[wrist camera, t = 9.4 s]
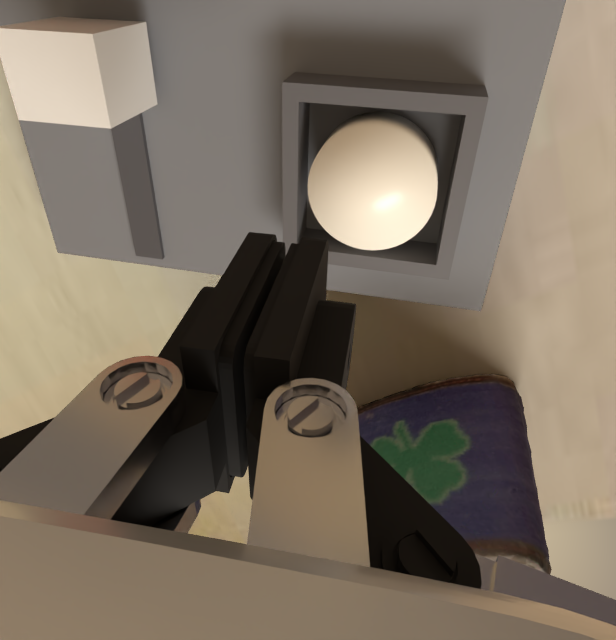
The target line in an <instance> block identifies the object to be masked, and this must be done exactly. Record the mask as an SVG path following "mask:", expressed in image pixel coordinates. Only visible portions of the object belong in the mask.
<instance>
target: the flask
mask: <svg viewBox="0 0 616 640" xmlns="http://www.w3.org/2000/svg"><path fill="white" fill-rule="evenodd" d="M357 410H358V421H359V434H360V436H361V437H362V438H363V439H364V440H365V441H366V442H367V443H368V444H369V445H370V446H371V447H372V448H373V449H374V450H375V451H376V452H377V453H378V454H379V455H380V456H382V457H383V458H384V459H385V460H386V461H387V462H388V463H389V464H390V465H391V466H392V467H393V468H394V469H395V470H396V471H397V472H398V473H399V474H400V475H401V476H402V477H403V478H404V479H405V480H406V481H407V482H408V483H409V484H410V485H411V486H412V487H413V488H414V489H415V490H416V491H417V492H418V493H419V494H420V495H421V496H422V497H423V498H424V499H425V500H426V501H427V502H428V503H429V504H430V505H431V506H432V507H433V508H434V509H435V510H436V511H437V512H438V513H439V514H440V515H441V516H442V517H443V518H444V519H445V520H446V521H447V522H448V523H449V524H450V525H451V526H452V527H453V528H454V529H455V530H456V531H457V532H458V533H459V534H460V535H461V536H462V537H463V538H464V539H465V541H466V542H467V543H468V544H469V546H470V547H471V548H472V549H473V551H474V553H475V554H478V555H480V556H483V557H485V558H488V559H491V560H493V561H496V559H497V557H498V555H500V556H503V557H505V558H508V559H511V560H513V561H516V562H518V563H521V564H524V565H526V566H529V567H531V568H534V569H537V570H539V571H542V572H544V573H547V574H550V573H551V566H550V562H549V554H548V548H547V545H546V540H545V534H544V527H543V521H542V515H541V510H540V506H539V500H538V493H537V487H536V483H535V478H534V472H533V466H532V459H531V449H530V445H529V442H528V437H527V425H526V420H525V416H524V413H523V412H524V407H523V404H522V399H521V397H520V395H519V393H518V392H517V390H516V388H515V385H514V383H513V381H511V380H510V379H509V378H508V377H506V376H499V375H495V374H490V375H483V374H481V375H472V376H466V377H460V378H450V379H447V380H444V381H436V382H429V383H428V384H426V385H423V386H417V387H414V388H413V389H412V390H409V391H404V392H400V393H397V394H395V395H391V396H389V397H385V398H383V399H380V400H377V401H374V402H371V403H370V404H368V405H367V404H366V405H363V406H361V407H359V409H357Z"/></svg>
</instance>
